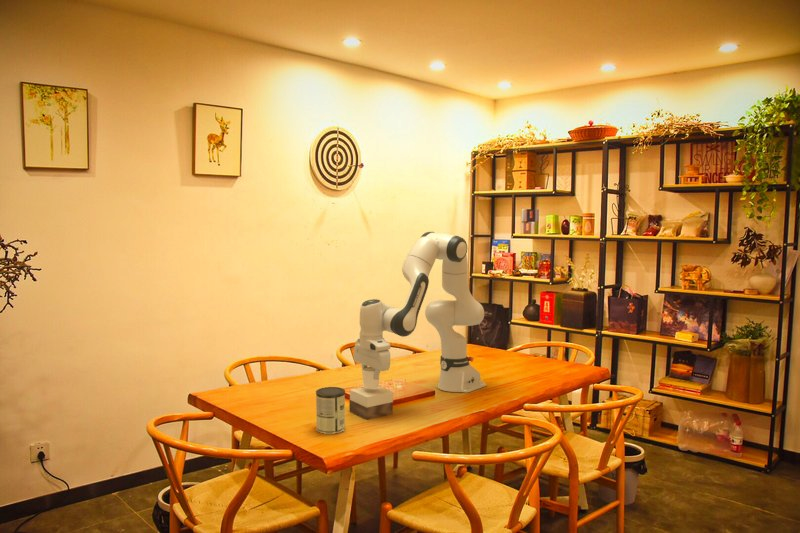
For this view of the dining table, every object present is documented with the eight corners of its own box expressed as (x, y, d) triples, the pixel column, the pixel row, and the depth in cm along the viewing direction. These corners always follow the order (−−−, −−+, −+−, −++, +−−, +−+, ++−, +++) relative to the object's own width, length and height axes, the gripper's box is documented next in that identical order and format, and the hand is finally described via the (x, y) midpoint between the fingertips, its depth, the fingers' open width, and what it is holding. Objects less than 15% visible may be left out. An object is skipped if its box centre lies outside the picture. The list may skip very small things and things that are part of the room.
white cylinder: (370, 383, 243) (370, 365, 243) (383, 386, 239) (383, 368, 238) (358, 386, 238) (358, 369, 238) (371, 390, 234) (371, 371, 233)
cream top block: (375, 394, 248) (375, 384, 248) (393, 401, 238) (393, 391, 238) (349, 399, 241) (349, 389, 240) (366, 407, 231) (366, 397, 231)
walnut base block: (375, 407, 248) (375, 394, 248) (392, 414, 238) (392, 402, 238) (349, 412, 241) (349, 400, 240) (366, 421, 231) (366, 407, 231)
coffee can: (318, 424, 226) (318, 386, 225) (346, 424, 226) (346, 386, 225) (313, 434, 216) (313, 394, 215) (343, 434, 216) (342, 395, 214)
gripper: (349, 338, 244) (349, 373, 245) (379, 347, 227) (379, 384, 228) (363, 336, 247) (363, 370, 249) (393, 345, 231) (393, 382, 232)
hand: (371, 377), depth 238 cm, fingers closed on white cylinder, 5 cm apart
